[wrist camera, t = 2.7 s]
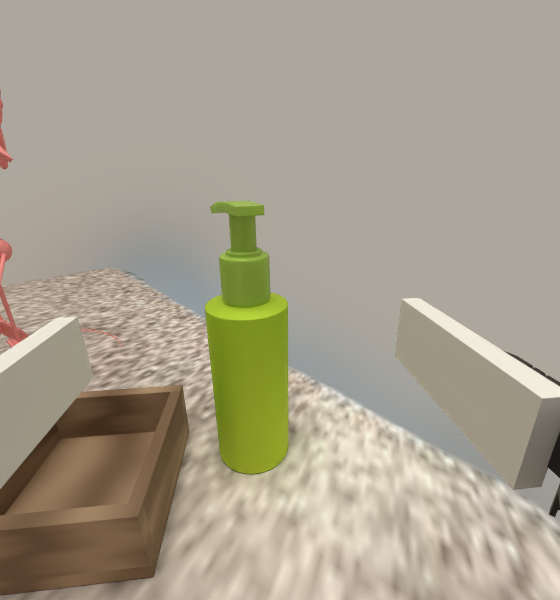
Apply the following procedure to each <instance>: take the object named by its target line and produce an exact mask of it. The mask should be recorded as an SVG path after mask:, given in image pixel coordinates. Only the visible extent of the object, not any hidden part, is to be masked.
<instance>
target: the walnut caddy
mask: <svg viewBox="0 0 560 600" xmlns="http://www.w3.org/2000/svg"><path fill="white" fill-rule="evenodd" d="M188 434H189V427H188V421H187V414H186V407H185V400H184V393H183V386H182V385H179V386H164V387H149V388H134V389H119V390H104V391H89V392H81V393H80V394H79V395H78V397H77V398H76V399H75V400H74V401H73V403H72V404H71V405H70V406H69V407H68V409H67V410H66V411H65V412H64V413H63V415H62V416H61V417H60V418H59V419H58V421H57V422H56V423H55V424H54V425H53V427H52V428H51V429H50V430H49V431H48V433H47V434H46V435H45V436H44V437H43V439H42V440H41V441H40V442H39V443H38V445H37V446H36V447H35V448H34V449H33V451H32V452H31V453H30V454H29V455H28V457H27V458H26V459H25V460H24V461H23V463H22V464H21V465H20V466H19V467H18V468H17V470H16V471H15V472H14V473H13V474H12V476H11V477H10V478H9V479H8V480H7V482H6V483H5V484H4V485H3V486H2V488H1V489H0V595H5V594H14V593H22V592H31V591H39V590H48V589H56V588H65V587H73V586H82V585H90V584H99V583H107V582H116V581H124V580H133V579H141V578H150V577H153V576H154V572H155V568H156V564H157V560H158V556H159V552H160V548H161V543H162V539H163V535H164V531H165V527H166V523H167V519H168V515H169V511H170V507H171V503H172V499H173V495H174V491H175V486H176V482H177V478H178V474H179V470H180V466H181V462H182V458H183V454H184V450H185V446H186V442H187V438H188Z"/></svg>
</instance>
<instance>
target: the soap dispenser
mask: <svg viewBox="0 0 560 600" xmlns="http://www.w3.org/2000/svg"><path fill="white" fill-rule="evenodd" d="M210 209H211V212H212V213H228V214H229V225H230V238H231V249H228V250H226V252H225V253H223V254H221V255H220V256H219V263H220V275H221V288H222V295H220V296H217V297H215V298H213V299H211V300H210V301H209V302H207V304H206V305H205V314H206V324H207V333H208V343H209V352H210V362H211V371H212V381H213V390H214V400H215V409H216V419H217V428H218V438H219V447H220V454H221V457H222V459H223V461H224V462H225V464H226V465H227V466H228V467H230V468H231V469H233V470H235V471H237V472H240V473H245V474H257V473H262V472H265V471H268V470H270V469H272V468H274V467H275V466H277V465H278V464H279V463H280V462H281V461H282V460H283V458H284V457H285V455H286V453H287V450H288V302H287V300H286V299H285V298H284V297H282V296H280V295H278V294H275V293H271V292H270V271H269V254H268V253H266V252H264V251H262V249H260V248H257V247H256V226H255V216H256V215H264V205H261V204H258V203H255V202H251V201H227V202H217V203H215V204H213V205H212V206H211V207H210Z"/></svg>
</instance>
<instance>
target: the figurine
mask: <svg viewBox="0 0 560 600" xmlns="http://www.w3.org/2000/svg"><path fill="white" fill-rule="evenodd" d="M0 98H1V97H0ZM2 108H3V103H2V101H1V99H0V125H1V123H2ZM8 161H9V162H11V161H12V158H11V157H10V156H9V154H8V153H7V151H6V147H5V141H4V137H3V134H2V130H1V127H0V166H1V167H2V168H3V169H7V167H8ZM11 255H12V248H11V246H10V245H9V244H8V243H7V242H6V241H4V240H3V239H1V238H0V297H1V300H2V302H3V305H4V307H5V310H6V313H7V315H8V318H9V321H10V323H11V324H10V323H8V322H7V321H5V320H3V319H2V317H1V315H0V335H1V333H2V334H4V335H5V336H7V337H9V339H8V340H7V341H6V342H7V343H8V344H9V345H10V346H11V347H13V346H15V345H16V344H18V343H19V342H21V341H22V340H24V339H25V338H27V337H28V336H29V335H28V334H26V333H25V332H24V331H22V330H21V329H19V328H17V327H16V325H15V322H14V319H13V317H12V314H11V311H10V308H9V305H8V303H7V300H6V297H5V294H4V291H3V289H2V286H1V280H2V275H3V269H4V264H5V261H7V260H8V259H10V257H11ZM87 329H89V328H87ZM94 330H95V329H93V330H85V331H94ZM95 332H100V331H95ZM101 333H104V332H101ZM105 334H107V333H105ZM113 334H114V333H113ZM108 335H110V334H108ZM115 335H116V334H115ZM110 336H112V335H110ZM117 336H118V335H117ZM112 337H114V336H112ZM118 337H119V336H118ZM10 338H11V339H10ZM114 338H115V337H114ZM116 339H117V338H116ZM117 340H118V339H117ZM118 341H119V340H118ZM119 342H120V341H119ZM120 344H121V343H120ZM121 346H122V345H121Z"/></svg>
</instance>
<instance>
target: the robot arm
mask: <svg viewBox="0 0 560 600" xmlns="http://www.w3.org/2000/svg"><path fill="white" fill-rule="evenodd" d="M395 357H396V358H397V359H398V360H399V361H400V362H401V363H402V365H403V366H404V367H405V368H406V369H407V370H408V371H409V372H410V374H411V375H412V376H413V377H414V378H415V379H416V380H417V381H418V383H419V384H420V385H421V386H422V387H423V388H424V389H425V391H426V392H427V393H428V394H429V395H430V396H431V397H432V398H433V400H434V401H435V402H436V403H437V404H438V405H439V406H440V408H441V409H442V410H443V411H444V412H445V413H446V414H447V415H448V416H449V418H450V419H451V420H452V421H453V422H454V423H455V424H456V426H457V427H458V428H459V429H460V430H461V431H462V432H463V434H464V435H465V436H466V437H467V438H468V439H469V440H470V441H471V443H472V444H473V445H474V446H475V447H476V448H477V449H478V451H479V452H480V453H481V454H482V455H483V456H484V457H485V458H486V459H487V461H488V462H489V463H490V464H491V465H492V466H493V468H494V469H495V470H496V471H497V472H498V473H499V474H500V475H501V477H502V478H503V479H504V480H505V481H506V482H507V483H508V485H509V486H510V487H511V488H512V489H513V490H516V489H525V488H534V487H541V486H542V483H543V481H544V478H545V475H546V472H547V470H548V468H549V469H550V470H552V471H553V472H554V473H555V474H556V475H557V476H558V477H559V478H560V382H558V381H556V380H555V379H553V378H552V377H550V376H546V375H545V373H544V372H542V371H540V370H539V369H537V368H533V366H532V365H531V364H529V363H527V362H526V361H524V360H523V359H521V358H519V357H518V356H515V355H513V354H510V353H508V352H505V351H503V350H501V349H499V348H498V347H496V346H494V345H493V344H491V343H490V342H488V341H486V340H485V339H483V338H482V337H480V336H478V335H477V334H475V333H474V332H472V331H470V330H469V329H467V328H466V327H464V326H463V325H461V324H460V323H458V322H456V321H455V320H453V319H452V318H450V317H448V316H447V315H445V314H444V313H442V312H440V311H439V310H437V309H436V308H434V307H433V306H431V305H429V304H428V303H426V302H425V301H423V300H421V299H420V298H410V299H402V301H401V310H400V318H399V326H398V336H397V343H396V352H395ZM92 379H93V374H92V370H91V366H90V362H89V359H88V355H87V351H86V347H85V344H84V340H83V336H82V332H81V329H80V325H79V321H78V317H65V318H56V319H54V320H53V321H51V322H50V323H48V324H47V325H45V326H44V327H42V328H41V329H39V330H38V331H36V332H35V333H33V334H32V335H30V336H28V337H27V338H25V339H24V340H22V341H21V342H19V343H18V344H16V345H15V346H13V347H12V348H10V349H9V350H7V351H6V352H4V353H3V354H1V355H0V489H1V488H2V486H3V485H4V484H5V483H6V482H7V480H8V479H9V478H10V477H11V476H12V474H13V473H14V472H15V471H16V470H17V468H18V467H19V466H20V465H21V464H22V463H23V461H24V460H25V459H26V458H27V457H28V455H29V454H30V453H31V452H32V451H33V449H34V448H35V447H36V446H37V445H38V443H39V442H40V441H41V440H42V439H43V437H44V436H45V435H46V434H47V433H48V431H49V430H50V429H51V428H52V427H53V425H54V424H55V423H56V422H57V421H58V419H59V418H60V417H61V416H62V415H63V413H64V412H65V411H66V410H67V409H68V407H69V406H70V405H71V404H72V403H73V401H74V400H75V399H76V398H77V397H78V395H79V394H80V393H81V392H82V391H83V389H84V388H85V387H86V386H87V385H88V383H89V382H90V381H91V380H92ZM558 510H560V485H559V487H558V490H557V492H556V495H555V498H554V500H553V503H552V505H551V508H550V512H549V515H551V516H554V517H555V516H556V513H557V511H558Z"/></svg>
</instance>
